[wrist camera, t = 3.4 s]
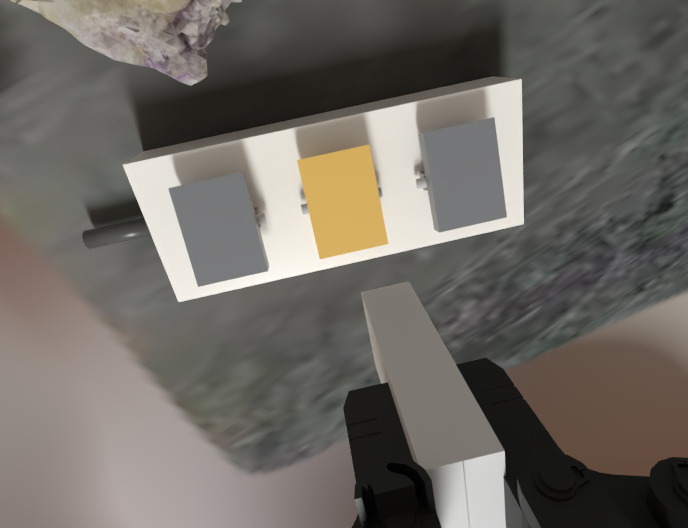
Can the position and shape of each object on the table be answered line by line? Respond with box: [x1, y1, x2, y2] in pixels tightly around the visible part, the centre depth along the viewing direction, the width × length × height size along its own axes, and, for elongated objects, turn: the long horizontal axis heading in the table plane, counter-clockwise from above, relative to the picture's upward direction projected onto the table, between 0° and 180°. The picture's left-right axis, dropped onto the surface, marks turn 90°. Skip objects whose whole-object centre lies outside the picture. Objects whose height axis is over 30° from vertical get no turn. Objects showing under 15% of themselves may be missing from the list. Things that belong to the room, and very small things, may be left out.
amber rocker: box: [297, 145, 388, 259], centre depth 25 cm, size 6×4×1 cm
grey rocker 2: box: [418, 117, 507, 233], centre depth 26 cm, size 6×4×1 cm
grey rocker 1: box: [168, 172, 269, 287], centre depth 25 cm, size 6×4×1 cm
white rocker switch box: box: [83, 76, 524, 302], centre depth 28 cm, size 9×28×5 cm, turn 101°
